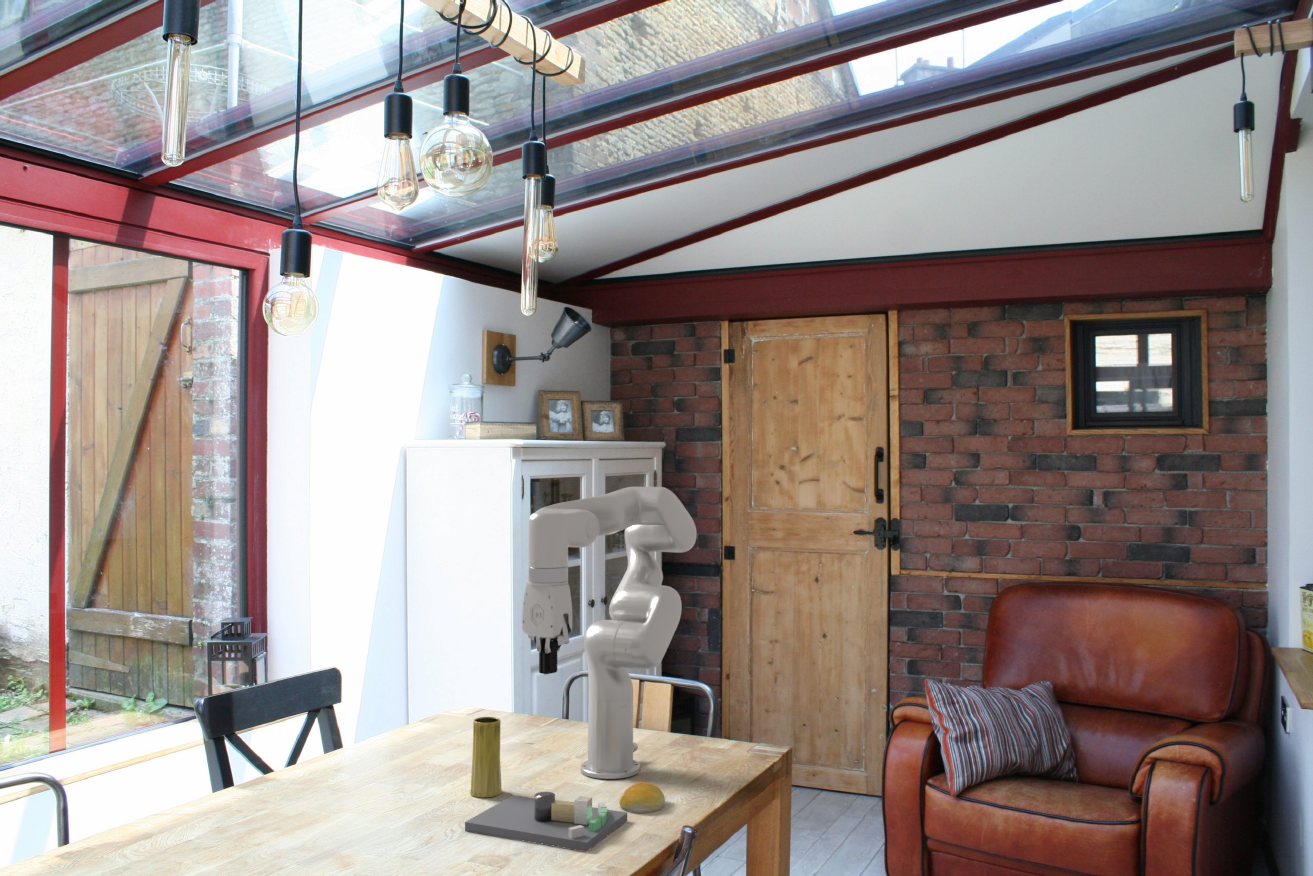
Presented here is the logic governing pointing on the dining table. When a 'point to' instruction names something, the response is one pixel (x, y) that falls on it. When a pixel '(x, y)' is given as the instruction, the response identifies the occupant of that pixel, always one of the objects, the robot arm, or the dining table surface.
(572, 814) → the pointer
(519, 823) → the grey flat slab
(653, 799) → the bread roll
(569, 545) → the robot arm
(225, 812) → the dining table surface
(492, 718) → the vase
